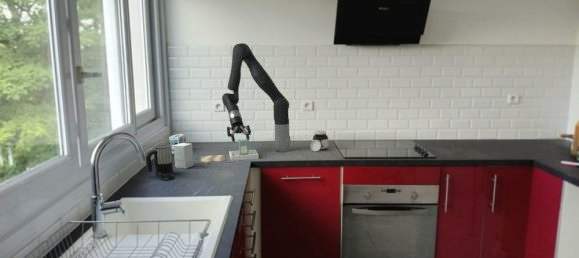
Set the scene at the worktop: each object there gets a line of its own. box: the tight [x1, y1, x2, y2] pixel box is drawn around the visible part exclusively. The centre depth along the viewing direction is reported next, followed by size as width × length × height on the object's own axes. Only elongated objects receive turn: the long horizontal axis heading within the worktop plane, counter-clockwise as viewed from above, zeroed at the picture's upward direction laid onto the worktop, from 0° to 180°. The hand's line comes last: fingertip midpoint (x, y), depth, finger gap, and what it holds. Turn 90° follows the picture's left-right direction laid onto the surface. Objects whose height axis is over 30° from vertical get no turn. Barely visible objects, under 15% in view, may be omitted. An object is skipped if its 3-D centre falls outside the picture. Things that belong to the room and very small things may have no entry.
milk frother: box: [145, 144, 175, 179], centre depth 215 cm, size 14×16×15 cm
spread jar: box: [309, 130, 330, 152], centre depth 267 cm, size 12×11×12 cm
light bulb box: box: [168, 133, 187, 155], centre depth 269 cm, size 11×7×11 cm, turn 168°
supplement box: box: [174, 142, 195, 169], centre depth 232 cm, size 7×7×13 cm
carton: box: [238, 138, 249, 156], centre depth 250 cm, size 5×5×10 cm
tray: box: [228, 149, 260, 162], centre depth 250 cm, size 16×14×3 cm
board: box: [200, 154, 227, 165], centre depth 247 cm, size 14×14×1 cm
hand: (241, 140), depth 252 cm, fingers open, 8 cm apart
